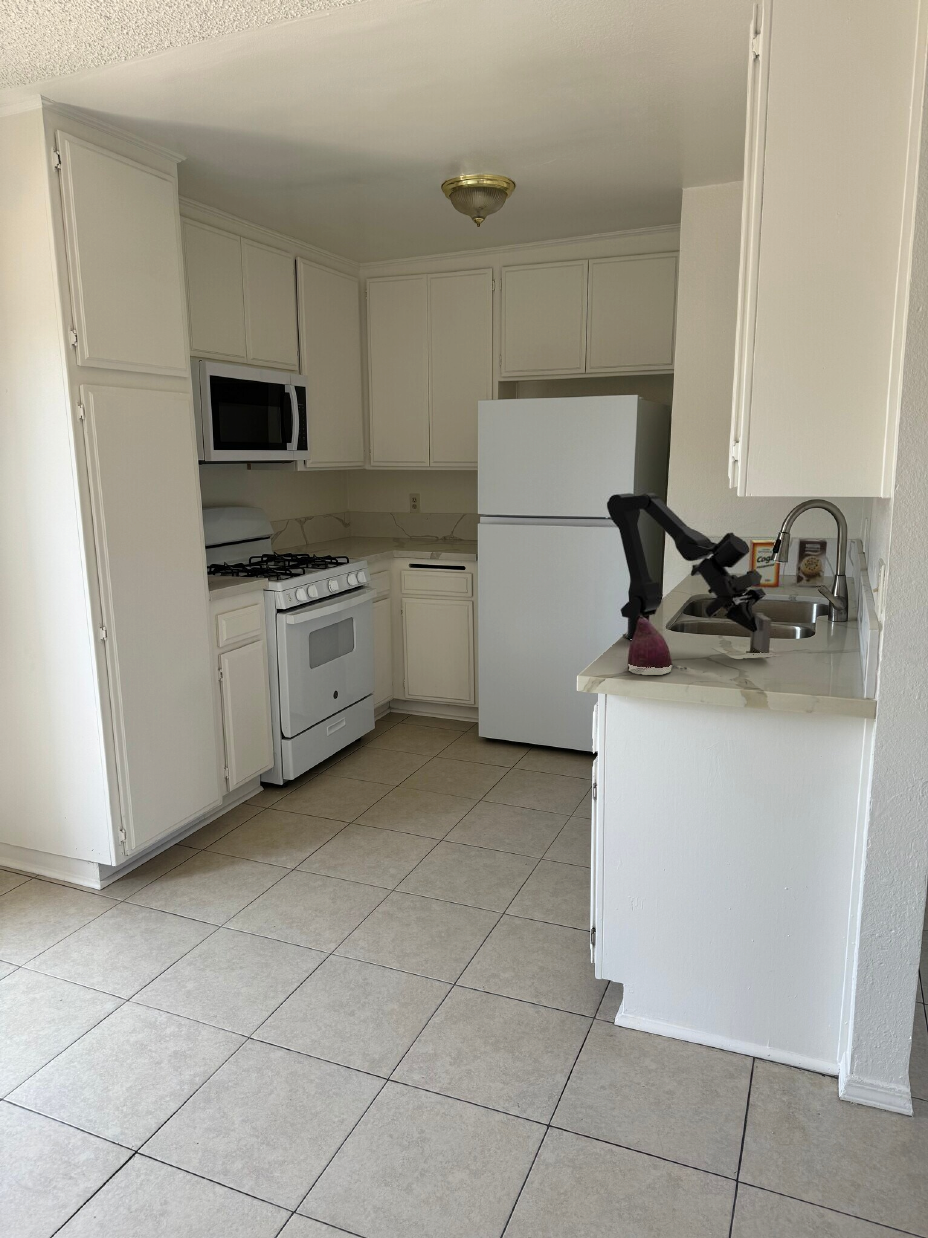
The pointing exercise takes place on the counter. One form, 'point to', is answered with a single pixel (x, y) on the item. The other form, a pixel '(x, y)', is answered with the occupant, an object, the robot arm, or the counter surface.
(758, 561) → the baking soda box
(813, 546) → the cookie box
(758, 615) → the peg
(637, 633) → the vegetable
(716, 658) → the counter surface
